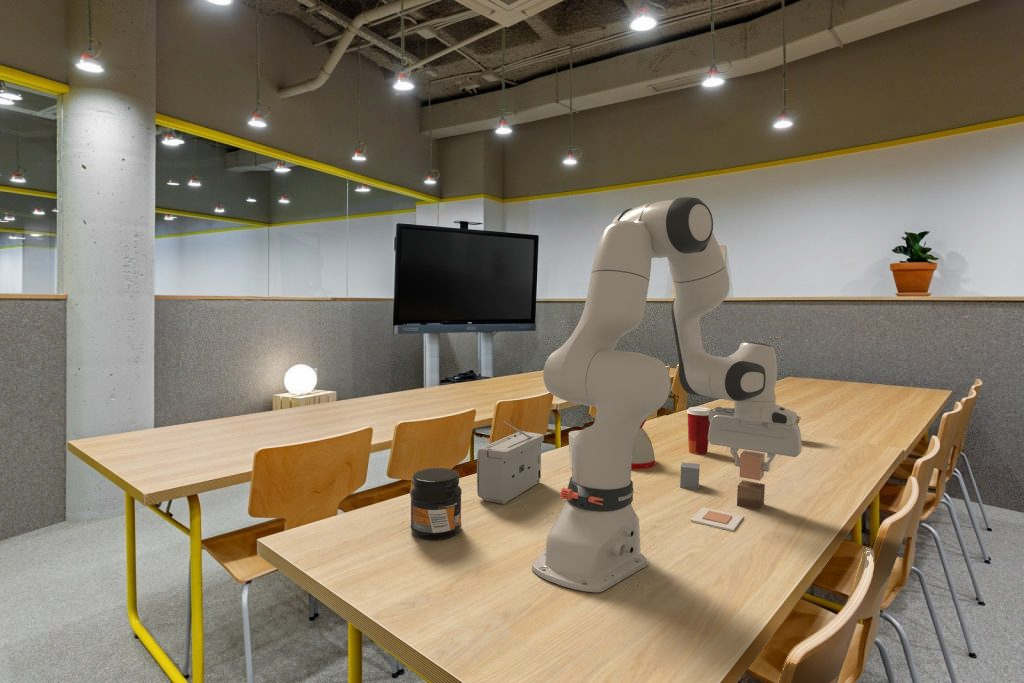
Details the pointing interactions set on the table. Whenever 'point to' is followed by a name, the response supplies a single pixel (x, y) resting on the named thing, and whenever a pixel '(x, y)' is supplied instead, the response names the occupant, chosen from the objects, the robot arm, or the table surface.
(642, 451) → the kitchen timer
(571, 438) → the white cup
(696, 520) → the tile
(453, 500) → the supplement container
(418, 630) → the table surface
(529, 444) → the stereo radio cassette player
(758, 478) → the salmon orange block
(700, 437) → the paper cup
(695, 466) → the grey block
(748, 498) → the walnut block
